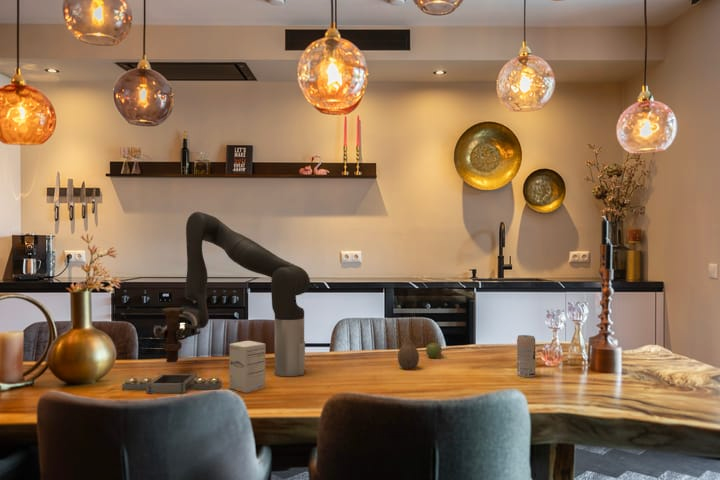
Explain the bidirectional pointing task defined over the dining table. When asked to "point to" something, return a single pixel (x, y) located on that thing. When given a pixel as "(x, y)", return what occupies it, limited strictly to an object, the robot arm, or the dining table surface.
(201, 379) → the chain end
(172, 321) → the bolt
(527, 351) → the energy drink
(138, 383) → the chain end
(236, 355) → the supplement box
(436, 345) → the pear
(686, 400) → the dining table surface
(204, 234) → the robot arm
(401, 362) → the vase
